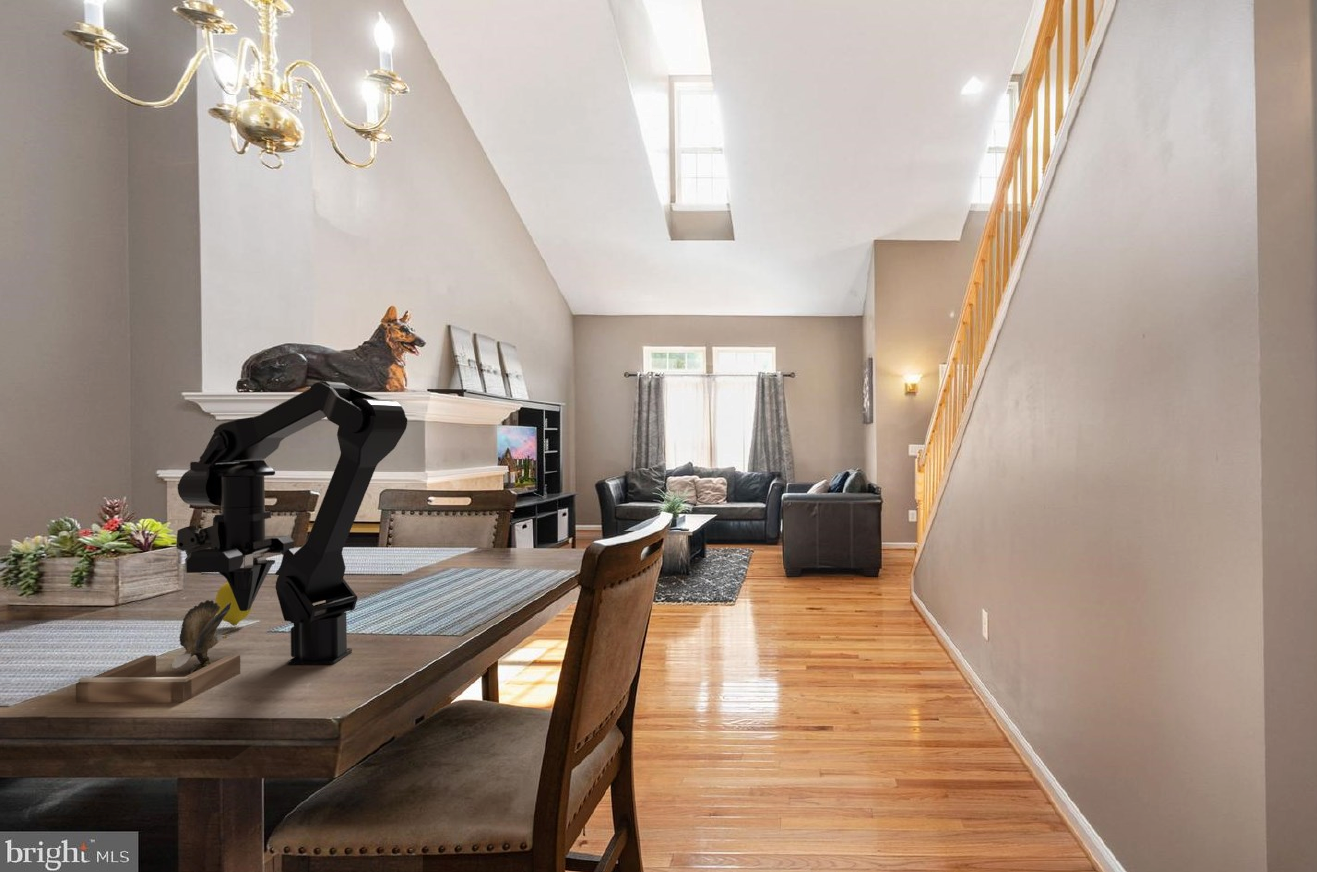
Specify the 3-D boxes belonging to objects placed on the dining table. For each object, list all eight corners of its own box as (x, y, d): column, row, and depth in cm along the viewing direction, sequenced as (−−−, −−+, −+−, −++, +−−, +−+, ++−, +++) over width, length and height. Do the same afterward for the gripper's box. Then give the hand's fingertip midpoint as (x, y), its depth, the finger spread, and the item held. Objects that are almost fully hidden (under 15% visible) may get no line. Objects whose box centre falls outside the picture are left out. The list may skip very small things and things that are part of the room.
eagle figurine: (247, 662, 105) (246, 598, 105) (207, 678, 98) (206, 610, 98) (201, 660, 106) (200, 597, 106) (158, 675, 99) (157, 608, 99)
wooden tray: (240, 673, 100) (240, 651, 100) (183, 704, 88) (183, 679, 88) (145, 673, 100) (144, 652, 100) (75, 704, 89) (75, 680, 89)
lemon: (212, 625, 126) (211, 578, 126) (248, 619, 130) (247, 574, 130) (219, 631, 122) (219, 582, 122) (257, 625, 126) (256, 578, 126)
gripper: (228, 501, 122) (229, 597, 122) (146, 513, 103) (147, 626, 103) (295, 500, 121) (296, 597, 121) (225, 512, 103) (227, 625, 103)
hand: (244, 610), depth 112 cm, fingers closed
